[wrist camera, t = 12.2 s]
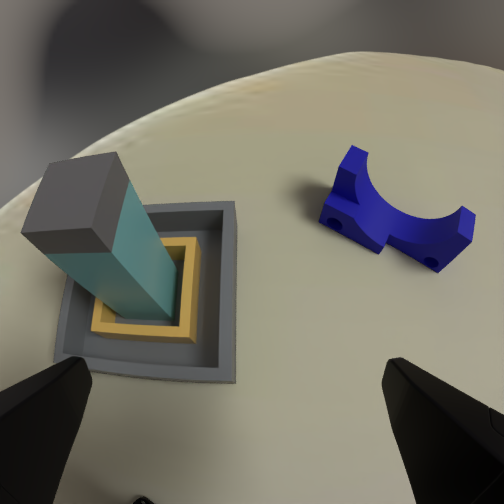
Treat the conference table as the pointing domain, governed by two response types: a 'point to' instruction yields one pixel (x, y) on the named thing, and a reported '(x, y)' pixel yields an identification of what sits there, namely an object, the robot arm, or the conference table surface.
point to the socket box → (186, 311)
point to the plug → (103, 236)
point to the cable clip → (391, 219)
